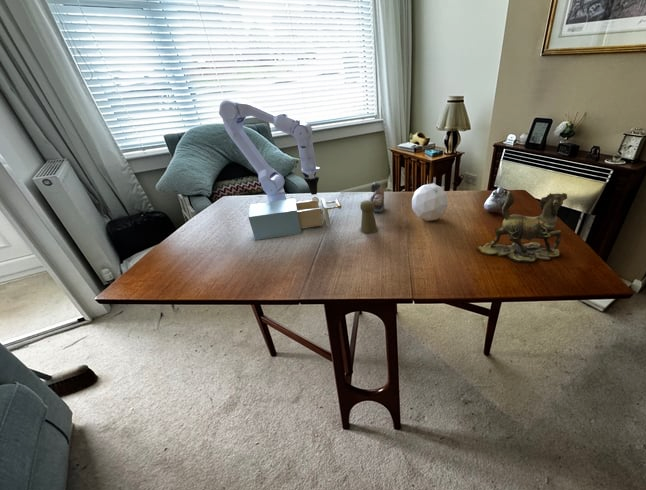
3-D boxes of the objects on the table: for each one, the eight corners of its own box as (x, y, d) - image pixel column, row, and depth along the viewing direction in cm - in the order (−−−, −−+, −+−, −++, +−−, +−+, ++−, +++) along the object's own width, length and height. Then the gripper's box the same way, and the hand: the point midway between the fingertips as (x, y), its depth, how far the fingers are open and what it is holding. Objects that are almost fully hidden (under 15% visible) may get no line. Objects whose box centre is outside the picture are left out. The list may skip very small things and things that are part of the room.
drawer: (339, 212, 127) (337, 195, 123) (344, 223, 118) (342, 205, 114) (287, 220, 123) (283, 202, 119) (288, 231, 114) (284, 213, 109)
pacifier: (323, 214, 128) (326, 208, 133) (321, 200, 125) (324, 195, 129) (306, 215, 129) (310, 209, 134) (303, 201, 125) (307, 195, 130)
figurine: (565, 265, 91) (589, 200, 79) (478, 259, 95) (489, 197, 83) (554, 244, 101) (573, 184, 90) (476, 240, 105) (485, 182, 94)
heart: (513, 211, 124) (513, 181, 118) (507, 219, 117) (507, 188, 112) (488, 210, 129) (487, 182, 124) (481, 218, 123) (480, 189, 117)
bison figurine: (384, 214, 126) (383, 190, 121) (367, 214, 126) (366, 191, 121) (384, 203, 136) (383, 181, 130) (368, 204, 136) (367, 181, 131)
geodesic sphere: (463, 208, 114) (449, 172, 113) (434, 218, 107) (419, 180, 107) (439, 220, 127) (427, 188, 127) (413, 229, 121) (399, 195, 120)
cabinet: (299, 219, 125) (294, 198, 119) (301, 232, 115) (296, 210, 109) (256, 226, 121) (250, 204, 116) (255, 240, 111) (248, 217, 106)
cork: (377, 226, 117) (376, 198, 111) (375, 233, 112) (374, 204, 106) (362, 225, 118) (360, 198, 112) (359, 232, 113) (357, 204, 107)
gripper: (319, 160, 113) (325, 195, 121) (315, 152, 125) (320, 184, 132) (300, 162, 112) (307, 198, 119) (298, 153, 123) (304, 186, 131)
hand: (313, 191), depth 126 cm, fingers open, 7 cm apart
